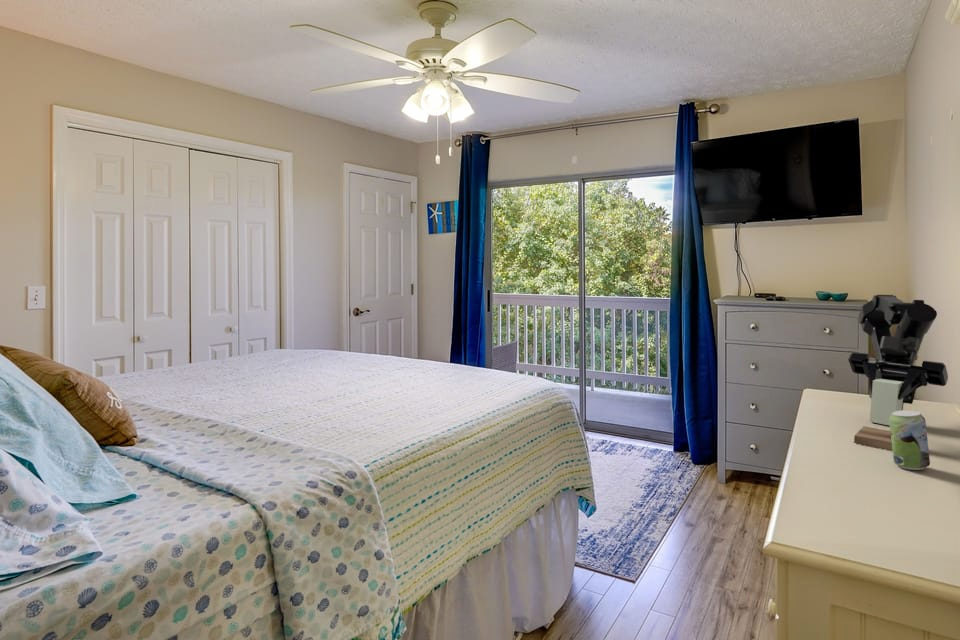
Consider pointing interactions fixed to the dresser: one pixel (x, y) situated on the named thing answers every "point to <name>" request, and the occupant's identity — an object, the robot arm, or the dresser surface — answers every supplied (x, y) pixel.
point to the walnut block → (874, 438)
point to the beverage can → (909, 439)
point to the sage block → (885, 400)
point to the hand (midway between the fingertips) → (885, 396)
